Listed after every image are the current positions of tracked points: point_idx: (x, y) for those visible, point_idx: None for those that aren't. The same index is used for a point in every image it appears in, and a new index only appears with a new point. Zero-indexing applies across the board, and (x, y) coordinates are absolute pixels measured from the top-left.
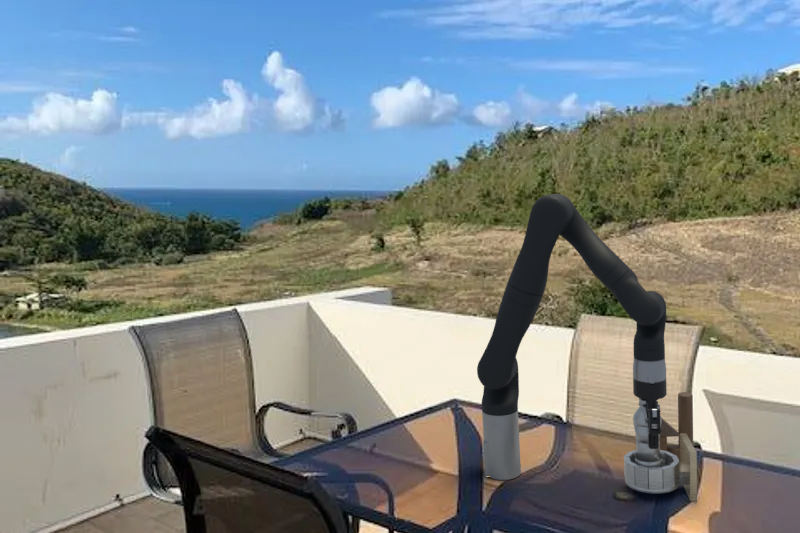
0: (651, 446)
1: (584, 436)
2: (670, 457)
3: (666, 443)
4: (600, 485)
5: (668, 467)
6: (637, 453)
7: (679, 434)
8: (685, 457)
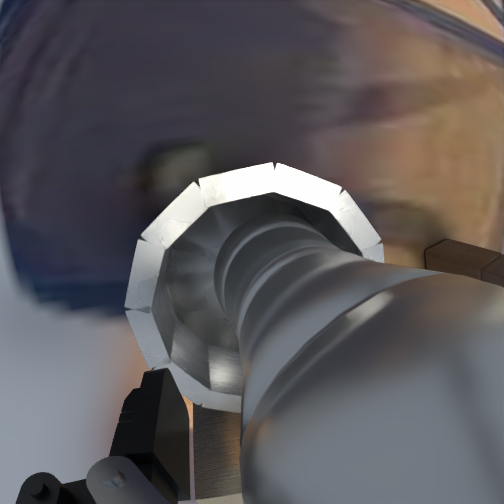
0: (131, 396)
1: (499, 86)
2: None
3: None
4: (243, 93)
5: (179, 388)
6: (257, 246)
7: None
8: None
